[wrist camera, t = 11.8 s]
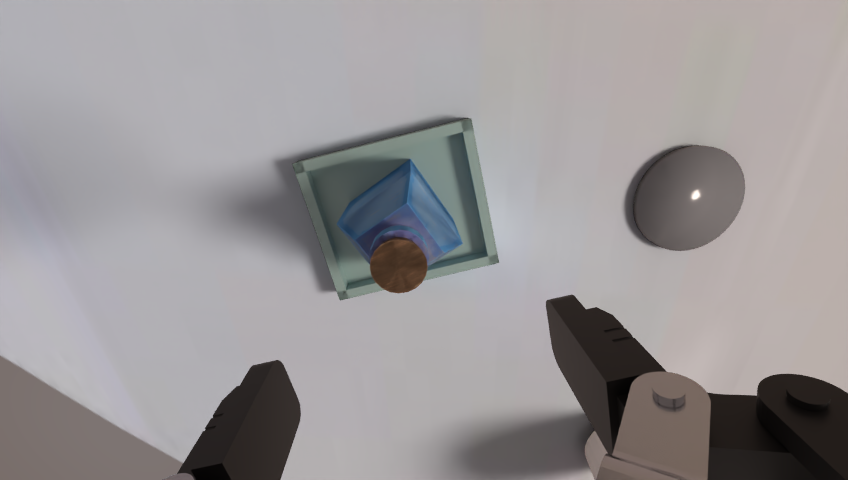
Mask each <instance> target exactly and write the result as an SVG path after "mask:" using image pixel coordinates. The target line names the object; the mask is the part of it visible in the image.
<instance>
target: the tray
mask: <svg viewBox="0 0 848 480" xmlns="http://www.w3.org/2000/svg"><path fill="white" fill-rule="evenodd" d="M409 159H411V160H412V162H413V163H414V164H415V166H416V167H417V169H418V170H419V171H420V173H421V174H422V176H423V177H424V178H425V180H426V181H427V183H428V184H429V186H430V187H431V188H432V190H433V191H434V193H435V194H436V195H437V197H438V198H439V200H440V201H441V202H442V204H443V205H444V207H445V208H446V210H447V211H448V212H449V214H450V215H451V217H452V218H453V220H454V222H455V225H456V227H457V230H458V232H459V235H460V237H461V240H462V242H463V244H462V245H460V246H459V247H457V248H456V249H454V250H453V251H451V252H450V253H448V254H447V255H445V256H444V257H442V258H441V259H439V260H438V261H436V262H435V263H433V264H432V265H430V266H429V267H428V268H427V273H426V276H425V278H424V280H428V279H433V278H437V277H441V276H445V275H449V274H454V273H458V272H462V271H466V270H470V269H475V268H479V267H483V266H487V265H492V264H496V263H499V260H498V255H497V250H496V244H495V239H494V234H493V229H492V224H491V218H490V213H489V208H488V203H487V198H486V193H485V187H484V182H483V177H482V172H481V167H480V162H479V156H478V151H477V146H476V141H475V136H474V131H473V125H472V120H471V119H470V118H466V119H462V120H458V121H454V122H450V123H446V124H442V125H438V126H434V127H430V128H426V129H422V130H418V131H414V132H410V133H406V134H403V135H399V136H395V137H391V138H387V139H383V140H379V141H375V142H371V143H367V144H363V145H359V146H355V147H351V148H347V149H343V150H339V151H335V152H331V153H328V154H324V155H320V156H316V157H312V158H308V159H304V160H300V161H297V162H295V163H293V164H292V165H293V168H294V171H295V174H296V177H297V179H298V182H299V185H300V188H301V191H302V194H303V197H304V199H305V202H306V205H307V208H308V211H309V214H310V217H311V219H312V222H313V225H314V228H315V231H316V234H317V237H318V239H319V242H320V245H321V248H322V251H323V254H324V257H325V259H326V262H327V265H328V268H329V271H330V274H331V277H332V279H333V282H334V285H335V288H336V291H337V294H338V296H339V299H340V300H344V299H348V298H352V297H357V296H361V295H365V294H369V293H373V292H378V291H382V290H385V289H382V288H381V287H380V286H379V285H378V284H377V283H376V282H375V281H374V279H373V277H372V276H371V272H370V265H369V263H368V262H367V261H366V260H365V259H364V257H363V256H362V255H361V254H360V252H359V251H358V250H357V249H356V248H355V246H354V245H353V244H352V243H351V241H350V240H349V239H348V238H347V237H346V235H345V234H344V233H343V232H342V231H341V229H340V228H339V227H338V226H337V222H338V221H339V219H340V217H341V216H342V214H343V212H344V211H345V209H346V207H347V206H348V204H349V203H350V202H351V201H352V200H354V199H355V198H357V197H358V196H359V195H361V194H362V193H363V192H365V191H366V190H368V189H369V188H370V187H372V186H373V185H375V184H376V183H377V182H379V181H380V180H381V179H383V178H384V177H386V176H387V175H388V174H390V173H391V172H393V171H394V170H395V169H397V168H398V167H399V166H401V165H402V164H404V163H405V162H406V161H408V160H409ZM424 280H423V281H424Z"/></svg>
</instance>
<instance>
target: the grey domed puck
mask: <svg viewBox="0 0 848 480" xmlns="http://www.w3.org/2000/svg"><path fill="white" fill-rule="evenodd" d="M744 193H745V180H744V175H743V172H742V169H741V167H740V166H739V164H738V163H737V161H736V160H735V159H734V158H733V157H732V156H731V155H730V154H728V153H727V152H725V151H723V150H720V149H718V148H714V147H708V146H699V145H697V146H687V147H683V148H679V149H676V150H674V151H672V152H670V153H668V154H666V155H665V156H663V157H662V158H660V159H659V160H658V161H657V162H655V163H654V164H653V165H652V166H651V167H650V169H649V170H648V171H647V172H646V173H645V175H644V176H643V178H642V180H641V181H640V183H639V185H638V188H637V190H636V194H635V197H634V204H633V211H634V218H635V221H636V224H637V226H638V228H639V230H640V231H641V233H642V234H643V235H644V236H645V237H646V238H647V239H648V240H650V241H651V242H653V243H655V244H656V245H658V246H660V247H662V248H665V249H669V250H675V251H685V250H691V249H695V248H699V247H701V246H703V245H706V244H708V243H709V242H711V241H713V240H714V239H716V238H717V237H719V236H720V235H721V234H722V233H723V232H724V231H725V230H726V229H727V228H728V227H729V226H730V225H731V223H732V222H733V221H734V219H735V218H736V216H737V214H738V212H739V210H740V208H741V205H742V203H743V199H744Z"/></svg>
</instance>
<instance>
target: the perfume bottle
mask: <svg viewBox="0 0 848 480" xmlns="http://www.w3.org/2000/svg"><path fill="white" fill-rule="evenodd" d="M337 226H338V227H339V228H340V229H341V231H342V232H343V233H344V234H345V235H346V237H347V238H348V239H349V240H350V241H351V243H352V244H353V245H354V246H355V248H356V249H357V250H358V251H359V252H360V254H361V255H362V256H363V257H364V259H365V260H366V261H367V262H368V263H369V265H370V272H371V276H372V277H373V279H374V281H375V282H376V283H377V284H378V285H379V286H380V287H381V288H382V289H385V290H387V291H389V292H394V293H404V292H409V291H411V290H413V289H415V288H416V287H418V286H419V285H420V284H421V283H422V282H423V280H424V278H425V276H426V273H427V268H428V267H429V266H430V265H432V264H433V263H435V262H436V261H438V260H439V259H441V258H442V257H444V256H445V255H447V254H448V253H450V252H451V251H453V250H454V249H456V248H457V247H459V246H460V245H462V244H463V242H462V240H461V237H460V235H459V232H458V230H457V227H456V225H455V222H454V220H453V218H452V217H451V215H450V214H449V212H448V211H447V210H446V208H445V207H444V205H443V204H442V202H441V201H440V200H439V198H438V197H437V195H436V194H435V193H434V191H433V190H432V188H431V187H430V186H429V184H428V183H427V181H426V180H425V178H424V177H423V176H422V174H421V173H420V171H419V170H418V169H417V167H416V166H415V164H414V163H413V162H412V160H411V159H409V160H408V161H406V162H405V163H404V164H402V165H401V166H399V167H398V168H397V169H395V170H394V171H393V172H391V173H390V174H388V175H387V176H386V177H384V178H383V179H381V180H380V181H379V182H377V183H376V184H375V185H373V186H372V187H370V188H369V189H368V190H366V191H365V192H363V193H362V194H361V195H359V196H358V197H357V198H355V199H354V200H352V201H351V202H350V203H349V204H348V206H347V207H346V209H345V211H344V212H343V214H342V216H341V217H340V219H339V221H338V222H337Z"/></svg>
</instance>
